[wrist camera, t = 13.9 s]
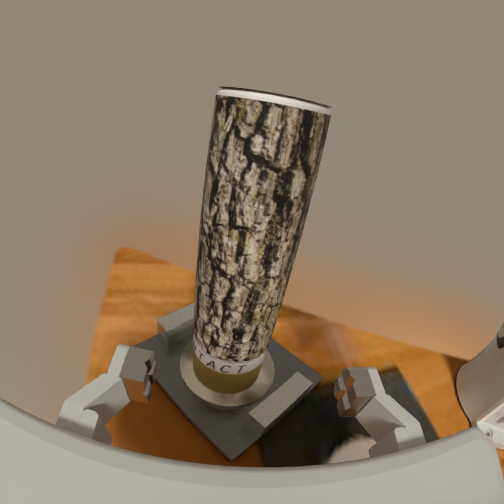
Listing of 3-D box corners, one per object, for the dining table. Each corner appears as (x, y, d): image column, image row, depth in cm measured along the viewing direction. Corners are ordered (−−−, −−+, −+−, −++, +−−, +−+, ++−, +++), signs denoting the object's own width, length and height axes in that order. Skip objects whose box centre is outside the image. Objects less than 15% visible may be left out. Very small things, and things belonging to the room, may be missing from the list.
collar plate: (320, 381, 29) (331, 364, 27) (230, 462, 20) (235, 452, 18) (225, 307, 38) (227, 286, 36) (133, 352, 28) (129, 331, 26)
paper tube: (218, 335, 31) (256, 93, 19) (270, 366, 29) (344, 112, 16) (178, 371, 26) (192, 84, 13) (234, 409, 23) (308, 98, 11)
